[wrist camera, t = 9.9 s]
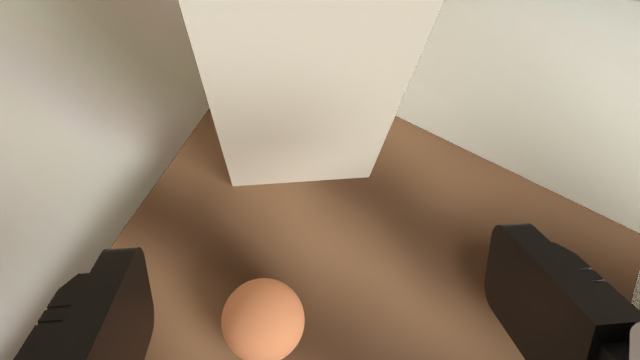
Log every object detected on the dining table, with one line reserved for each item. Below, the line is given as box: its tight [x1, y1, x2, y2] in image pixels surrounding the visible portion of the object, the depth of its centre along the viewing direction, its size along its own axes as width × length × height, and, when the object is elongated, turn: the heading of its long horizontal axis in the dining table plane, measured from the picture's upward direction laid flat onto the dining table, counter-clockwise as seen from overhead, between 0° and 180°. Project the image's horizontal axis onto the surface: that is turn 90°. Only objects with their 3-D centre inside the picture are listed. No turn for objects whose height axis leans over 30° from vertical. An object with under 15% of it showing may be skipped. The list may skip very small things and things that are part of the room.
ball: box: [221, 278, 305, 360], centre depth 17 cm, size 3×3×3 cm
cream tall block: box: [178, 0, 444, 186], centre depth 16 cm, size 5×6×12 cm
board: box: [110, 108, 640, 360], centre depth 20 cm, size 20×20×2 cm
